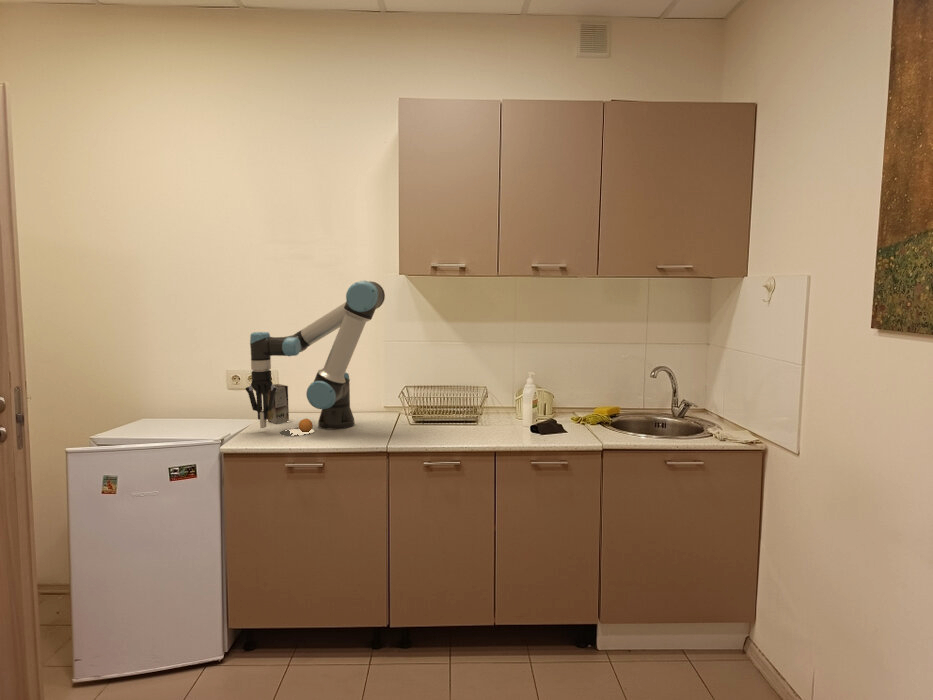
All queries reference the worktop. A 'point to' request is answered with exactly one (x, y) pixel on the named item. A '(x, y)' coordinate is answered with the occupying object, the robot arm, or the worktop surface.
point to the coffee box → (279, 405)
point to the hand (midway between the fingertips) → (263, 427)
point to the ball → (305, 425)
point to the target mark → (288, 433)
